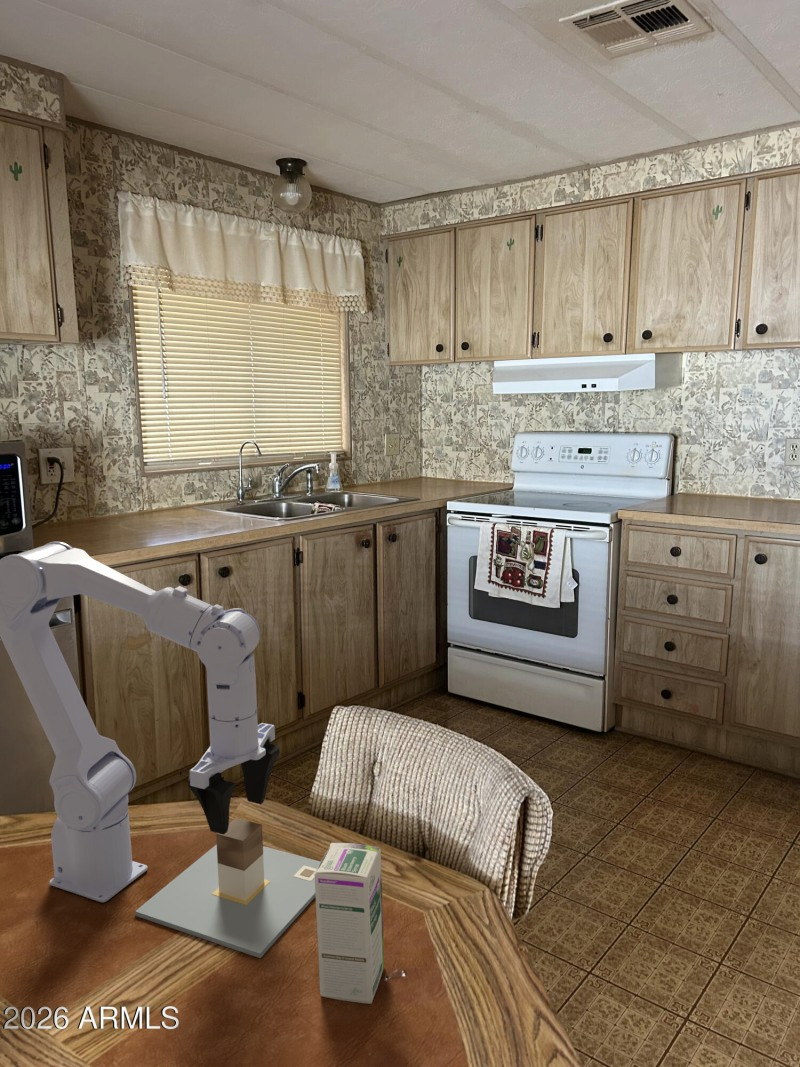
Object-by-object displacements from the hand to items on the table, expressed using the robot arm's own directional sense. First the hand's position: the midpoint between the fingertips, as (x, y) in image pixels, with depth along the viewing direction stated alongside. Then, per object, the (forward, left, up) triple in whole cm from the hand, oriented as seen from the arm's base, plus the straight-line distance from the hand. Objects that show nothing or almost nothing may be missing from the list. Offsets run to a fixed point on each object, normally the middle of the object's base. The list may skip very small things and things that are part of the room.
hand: (237, 816), depth 98 cm
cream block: (0, 0, -10) cm, 10 cm away
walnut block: (0, 0, -6) cm, 6 cm away
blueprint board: (0, 0, -10) cm, 10 cm away
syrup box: (+20, -8, -11) cm, 24 cm away
